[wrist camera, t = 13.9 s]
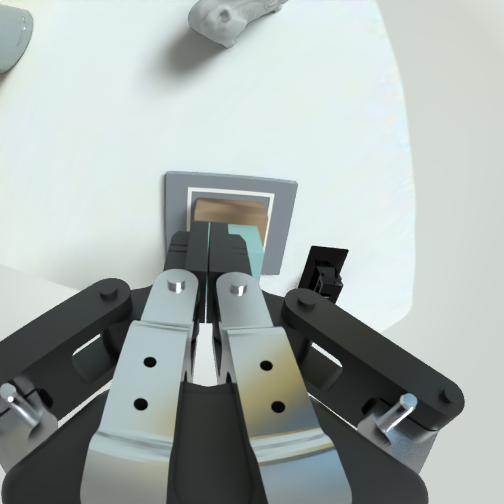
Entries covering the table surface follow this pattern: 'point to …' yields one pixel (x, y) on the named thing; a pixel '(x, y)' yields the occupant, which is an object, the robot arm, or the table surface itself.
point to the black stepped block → (324, 271)
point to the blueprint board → (233, 188)
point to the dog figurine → (228, 17)
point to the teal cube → (249, 246)
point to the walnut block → (233, 213)
